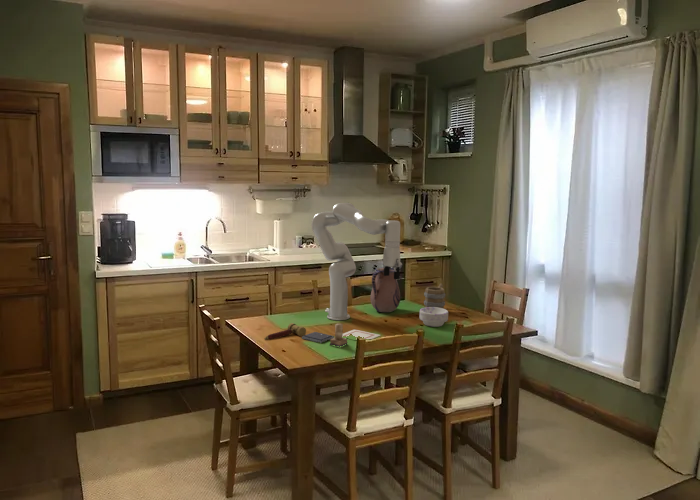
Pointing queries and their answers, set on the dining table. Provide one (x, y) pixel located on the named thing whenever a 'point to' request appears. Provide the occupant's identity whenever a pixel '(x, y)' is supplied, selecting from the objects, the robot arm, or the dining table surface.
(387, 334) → the dining table surface
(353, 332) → the paper sheet
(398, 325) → the dining table surface
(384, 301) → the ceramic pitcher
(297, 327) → the gavel
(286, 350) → the dining table surface
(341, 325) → the stamp
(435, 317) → the paper bowls
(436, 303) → the tankard
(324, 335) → the ink pad
